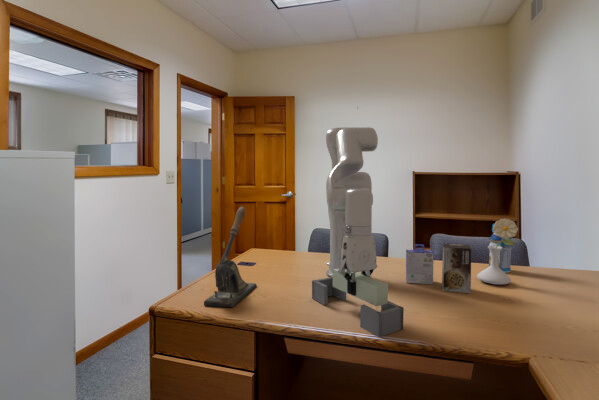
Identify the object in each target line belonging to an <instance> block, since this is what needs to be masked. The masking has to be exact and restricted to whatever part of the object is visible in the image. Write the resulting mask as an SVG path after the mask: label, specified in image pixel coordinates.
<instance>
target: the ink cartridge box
mask: <svg viewBox="0 0 599 400" xmlns="http://www.w3.org/2000/svg"><path fill="white" fill-rule="evenodd" d="M405 251H406V252H405V282H406V284H423V285H433V284H434V256H435V255H434V251H433V250H431V249H425V244H424V243H423V244H422V243H421V244H420V243H414V249H405Z"/></svg>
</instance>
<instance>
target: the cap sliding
mask: <svg viewBox="0 0 599 400" xmlns="http://www.w3.org/2000/svg"><path fill="white" fill-rule="evenodd" d="M331 296H333V297H335V298H337V299H339V300H341V301H347V293H346V292H344V291H341V290H339V289H337V288H335V287H333V277H330V276H328V277H323V278H319V279H313V280H311V298H312V300H315V301H316V302H318V303H320V304H321V305H323V306H326V305H328V297H331Z"/></svg>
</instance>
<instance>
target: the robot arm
mask: <svg viewBox="0 0 599 400" xmlns="http://www.w3.org/2000/svg"><path fill="white" fill-rule="evenodd" d="M378 137H379V136H378V134H377V130H375V128H373V127H370V126H369V127H363V126H362V127H354V126H353V127H349V126H348V127H346V126H344V127H334V128H330V129H328V130H327V132H326V134H325V142H326V143H325V144H326V148H327V151H328V153H329V156H330V159H331V171H330V172H329V173H328V176H327V177H326V178H327V179H326V183H325V185H326V186H325V189H326V192H325V193H326V203H327V210H328V211H327V212H328V220H329V233H330V234H329V242H330V243H329V261H328V262H326V265H327V266H328V269H327V270H326V271H325V272H326V273H325V274H326V276H328V277H333V269H338V268H339V269H338V273H339V274H341V275H343V276H344V277H345V279H346V280H347V292H348V293H349V295H350V294H351V296H352V295H353V297H355V295H356V282H354V280H355V274H356V273H360V274H362V275H365V276H367V277H370V278H372V277H371V276H372V274H373V272H374V271H375V270H376V269H377V268H378V264H377V247H376V241H375V236H374V235H373V234H372V230H373V229H372V228H373V227H372V224H373V223H372V221H373V219H372V218H373V217H372V215H373V214H372V213H373V212H372V211H373V204H374V195H373V194H374V193H373V192H372V189H373V187H372V185H373V184H372V178H371V175H370V174H369V173H368V172H367V171H360V170H362V168H363V167H364V158H363V157H364V155H363V153H364V152H375V151H376V150H377V147H378V142H379V138H378ZM345 269H347V270H346V272H345ZM350 273H351V276H350ZM348 293H347V294H348Z"/></svg>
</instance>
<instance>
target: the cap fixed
mask: <svg viewBox="0 0 599 400" xmlns="http://www.w3.org/2000/svg"><path fill="white" fill-rule="evenodd" d="M404 311H405V309H404V307H403V306H401V305H398V304H396V303H394V302H391V301H389V300H388V304H385V305H381V306H380V311H378V310H376V309H375V308H373V307H370V306H368V305H366V304H360V319H359V322H360V323H359V326H360V328H363V329H364V330H366V331H367V332H369V333H371V334H372V335H374V336H376V337H377V338H380V337H383V336H386V335H391V334H393V333H396V332H399V331H403V330H404V313H405V312H404Z"/></svg>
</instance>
